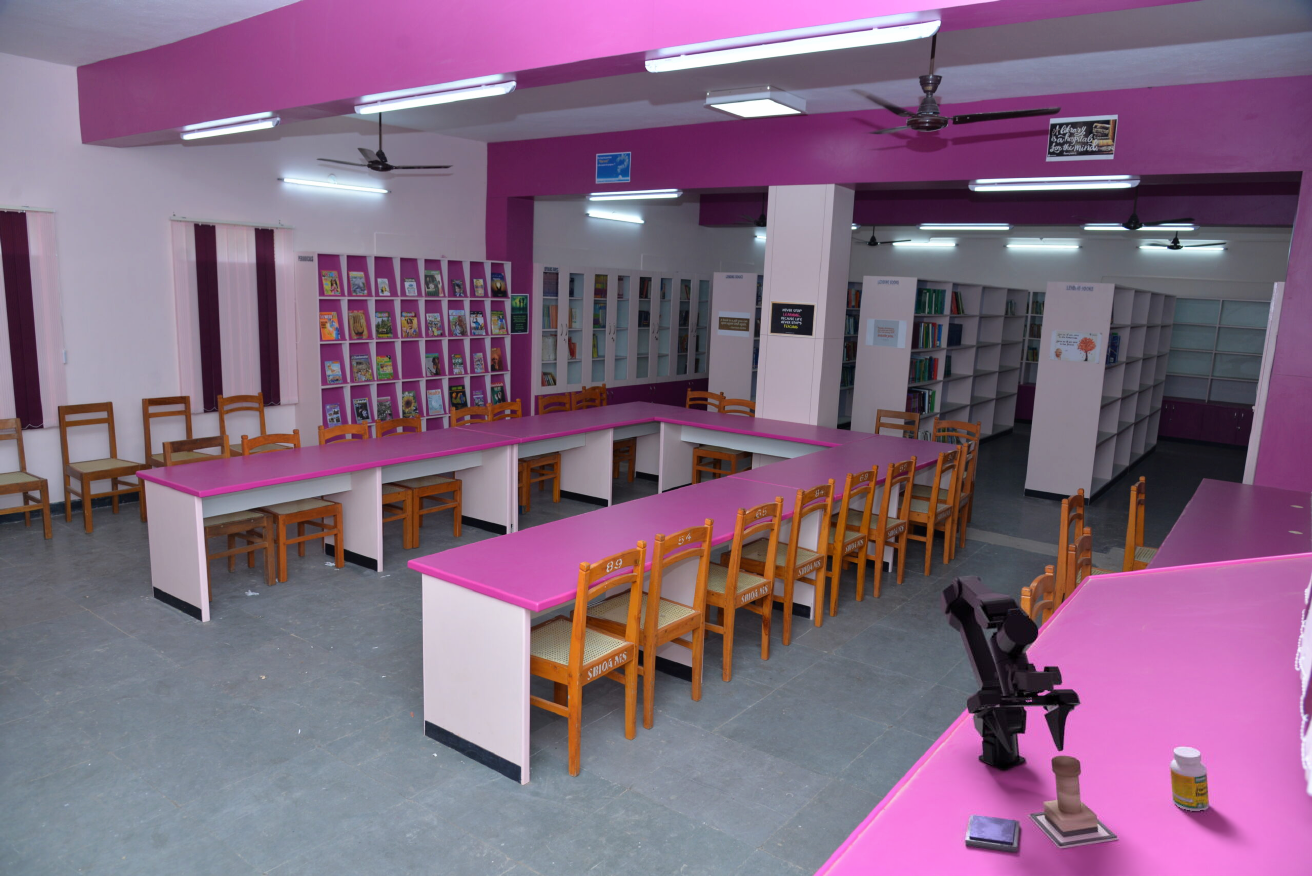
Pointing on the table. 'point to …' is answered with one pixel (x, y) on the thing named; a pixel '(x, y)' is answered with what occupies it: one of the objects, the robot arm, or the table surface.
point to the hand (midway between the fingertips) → (1036, 751)
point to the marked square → (1072, 841)
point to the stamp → (1069, 801)
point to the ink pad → (993, 833)
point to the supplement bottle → (1189, 780)
